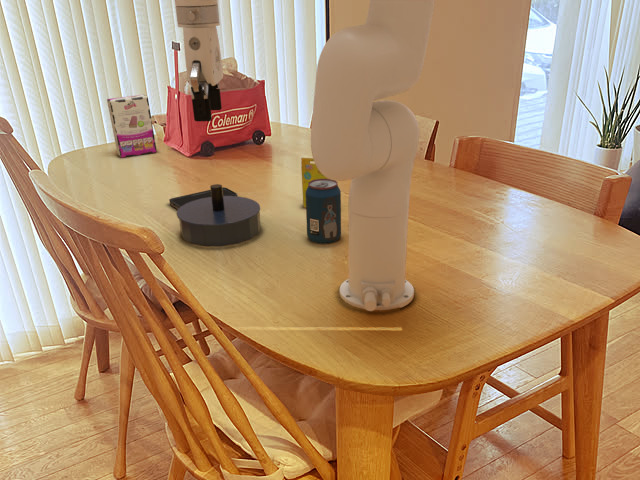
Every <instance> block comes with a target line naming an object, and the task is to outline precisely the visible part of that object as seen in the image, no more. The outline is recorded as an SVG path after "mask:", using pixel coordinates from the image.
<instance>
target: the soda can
mask: <svg viewBox="0 0 640 480" xmlns="http://www.w3.org/2000/svg"><path fill="white" fill-rule="evenodd" d="M305 214H306V216H305V217H306V219H305V221H306V237H307V238H308V240H309V241H310V242H312V243H315V244H320V245H325V244H326V245H327V244H332V243H336V242H338V240H340V238H341V236H342V191H341V189H340V187H339V184H338V181H334V180H331V179H315V180H312V181H310V182H309V183H308V188H307V190H306V208H305Z"/></svg>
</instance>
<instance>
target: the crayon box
mask: <svg viewBox="0 0 640 480" xmlns="http://www.w3.org/2000/svg"><path fill="white" fill-rule="evenodd" d="M312 162H314V159H313V157H301V163H300V164H301V186H302V187H301V188H302V206H303V208H304V209H306V190H307V188H308V183H309V182H310V181H312V180H315V179H328V178H327V177H325V176H324V175H323V174H322V173H321V172H320V171H319V170H318V168H317V166H316V164H315V163H312Z"/></svg>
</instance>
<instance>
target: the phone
mask: <svg viewBox="0 0 640 480" xmlns="http://www.w3.org/2000/svg"><path fill="white" fill-rule="evenodd" d="M222 190H223V196H238V193H237V192H235V191H234V190H231V189H230V188H228V187H225V186H222ZM208 197H211V189H207V190H203V191H198V192H195V193H190V194H185V195H180V196H175V197H171V198H169V200H168V201H169V205H170V206H171V207H173V208H174V209H176V210H177V211H178V209H179V208H180V207H181V206H183V205H184V204H187V203H189V202H191V201H194V200H198V199H202V198H208Z"/></svg>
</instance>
